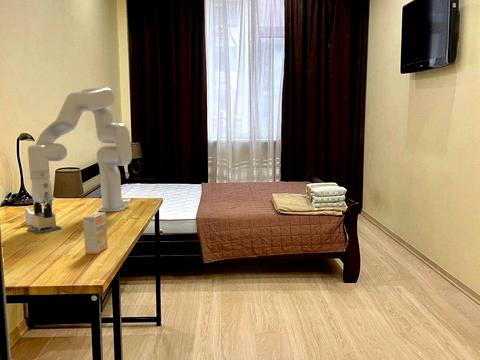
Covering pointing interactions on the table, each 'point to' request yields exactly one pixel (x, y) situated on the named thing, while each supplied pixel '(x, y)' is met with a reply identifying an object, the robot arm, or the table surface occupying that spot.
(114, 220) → the table surface
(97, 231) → the supplement box
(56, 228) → the peg base plate
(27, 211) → the bracket
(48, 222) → the collar
